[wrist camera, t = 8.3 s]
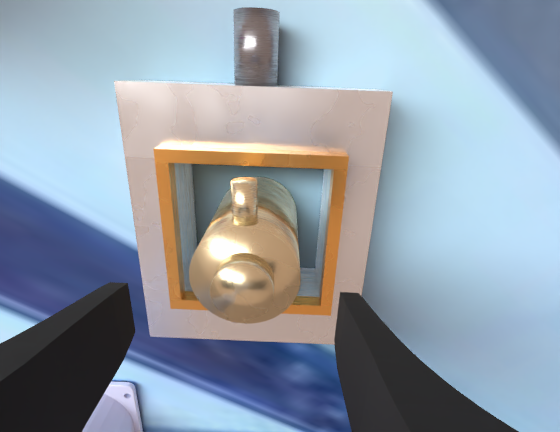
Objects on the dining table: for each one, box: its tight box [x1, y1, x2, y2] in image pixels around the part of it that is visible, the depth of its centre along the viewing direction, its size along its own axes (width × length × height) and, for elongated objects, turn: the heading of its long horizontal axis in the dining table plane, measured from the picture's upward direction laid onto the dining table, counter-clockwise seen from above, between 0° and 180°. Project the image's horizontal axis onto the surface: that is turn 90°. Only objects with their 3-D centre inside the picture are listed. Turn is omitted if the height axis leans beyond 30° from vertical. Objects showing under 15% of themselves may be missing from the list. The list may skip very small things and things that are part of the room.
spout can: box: [189, 177, 301, 324], centre depth 16 cm, size 6×4×8 cm
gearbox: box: [114, 8, 393, 344], centre depth 18 cm, size 17×12×4 cm
